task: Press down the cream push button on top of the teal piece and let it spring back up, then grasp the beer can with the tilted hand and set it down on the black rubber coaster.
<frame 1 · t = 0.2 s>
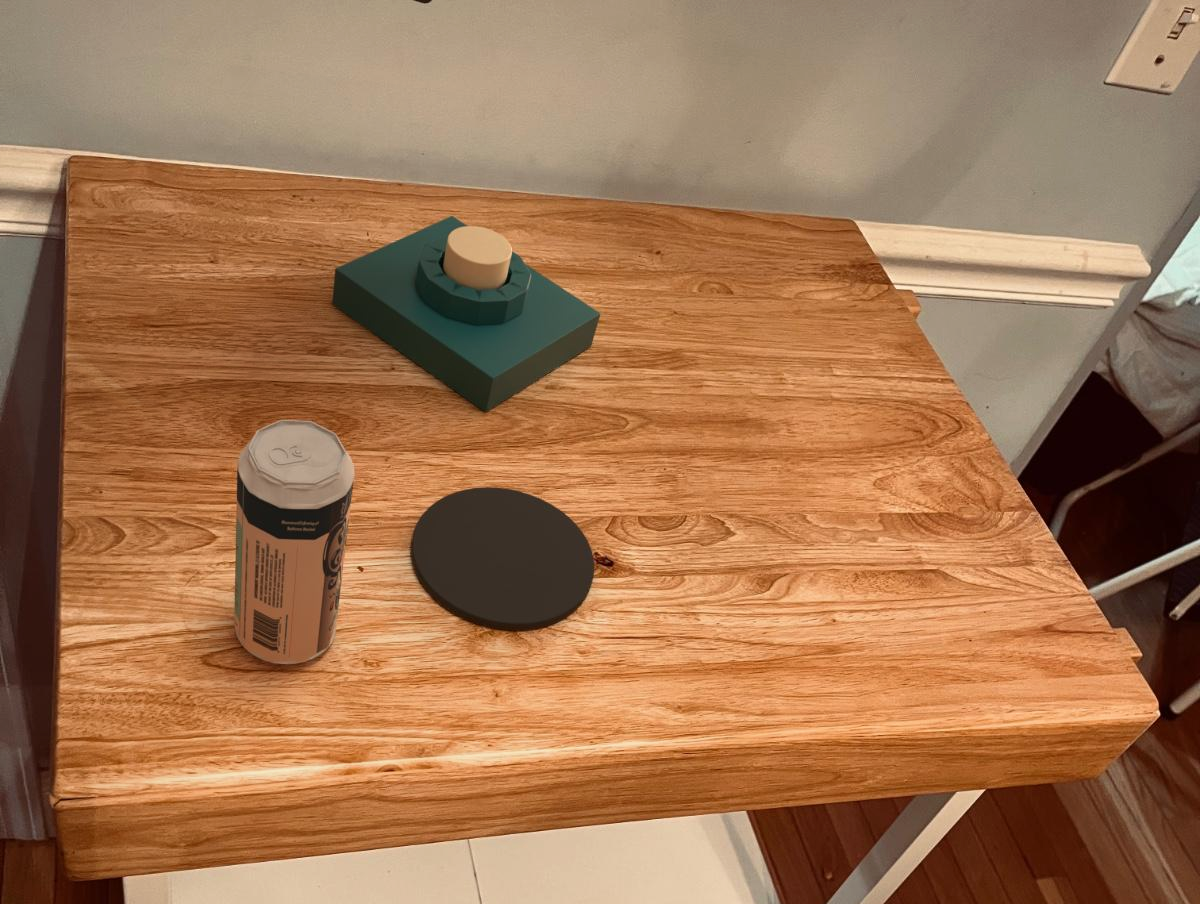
beer can: (285, 634, 58), on the kitchen cart
button: (477, 258, 74), point 5 cm above the kitchen cart, slide at 0.1 cm
teal piece: (464, 325, 77), on the kitchen cart
coaster: (503, 559, 65), on the kitchen cart
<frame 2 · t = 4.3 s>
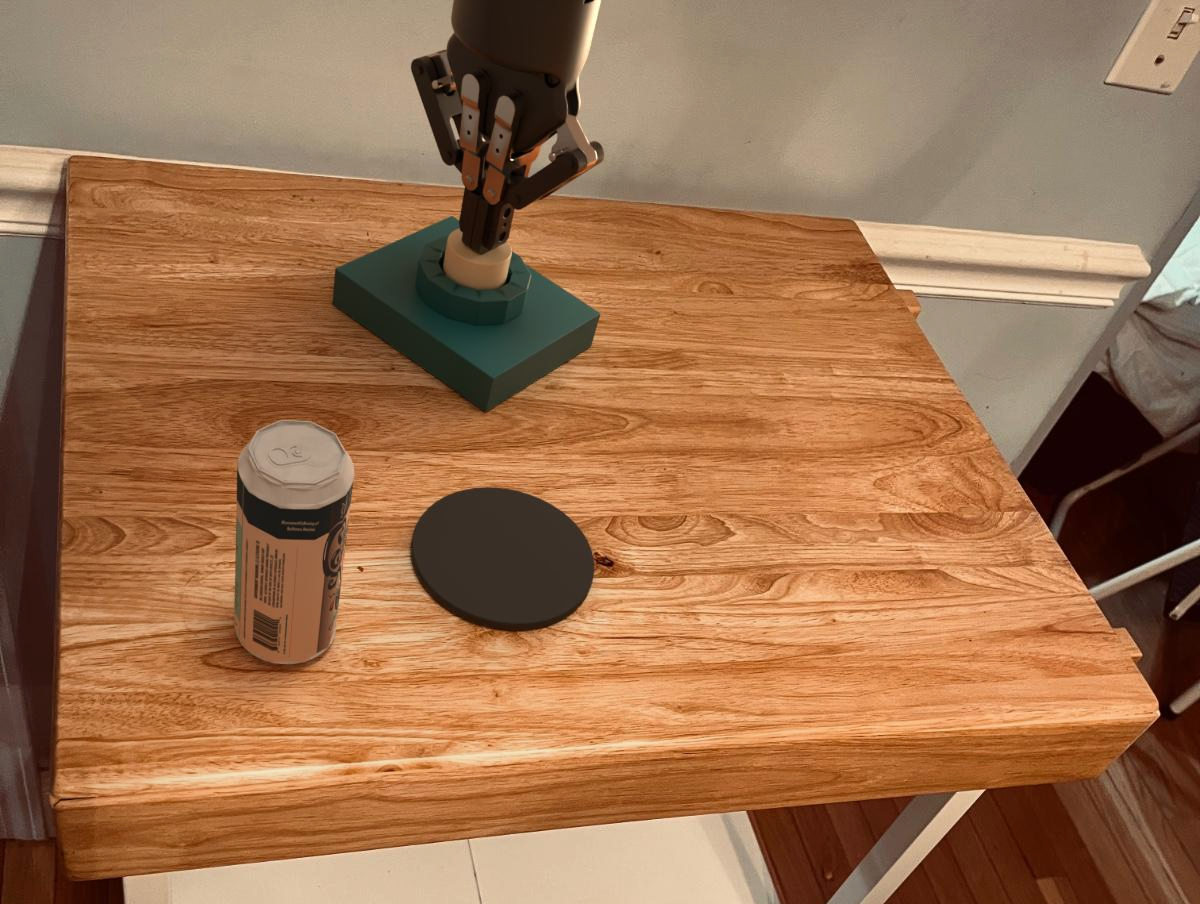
hand: (481, 245, 73), 6 cm above the kitchen cart, tool pointing down, fingers closed
button: (477, 259, 74), point 5 cm above the kitchen cart, slide at 0.0 cm, touching gripper
everything else where it was.
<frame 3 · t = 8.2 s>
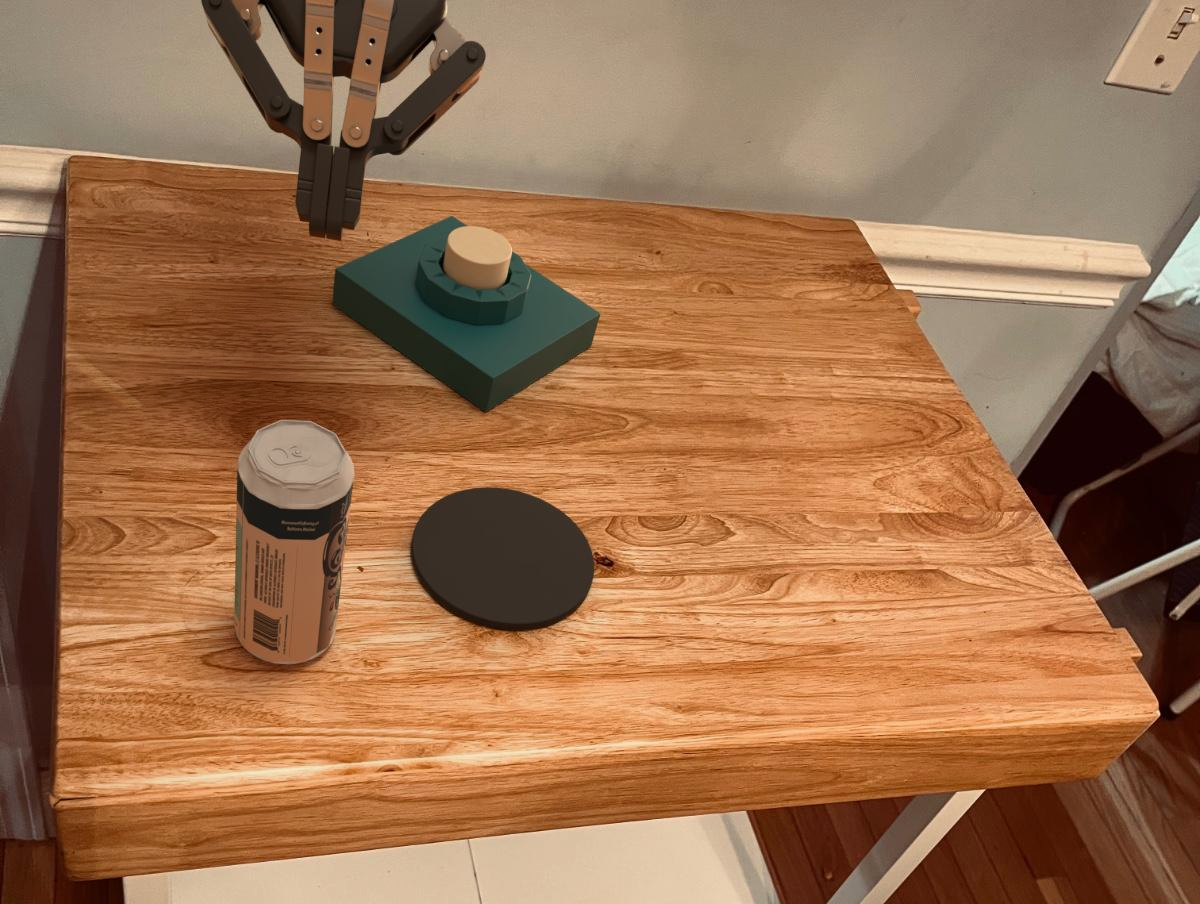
hand: (326, 235, 54), 15 cm above the kitchen cart, tool tilted 45°, fingers closed
button: (477, 258, 74), point 5 cm above the kitchen cart, slide at 0.1 cm
everything else where it was.
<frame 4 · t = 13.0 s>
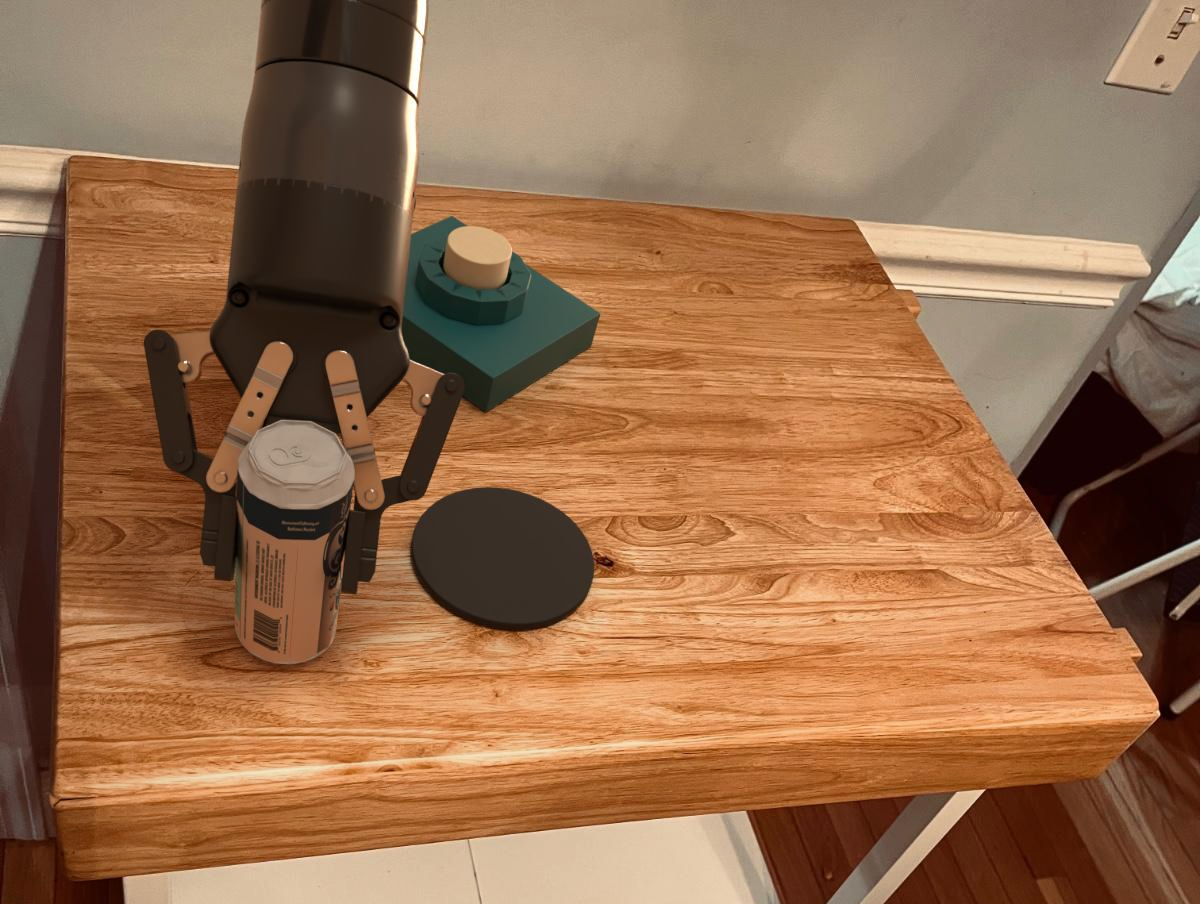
hand: (287, 584, 53), 6 cm above the kitchen cart, tool tilted 45°, fingers closed on beer can, 4 cm apart
beer can: (285, 634, 58), on the kitchen cart, touching gripper
everything else where it was.
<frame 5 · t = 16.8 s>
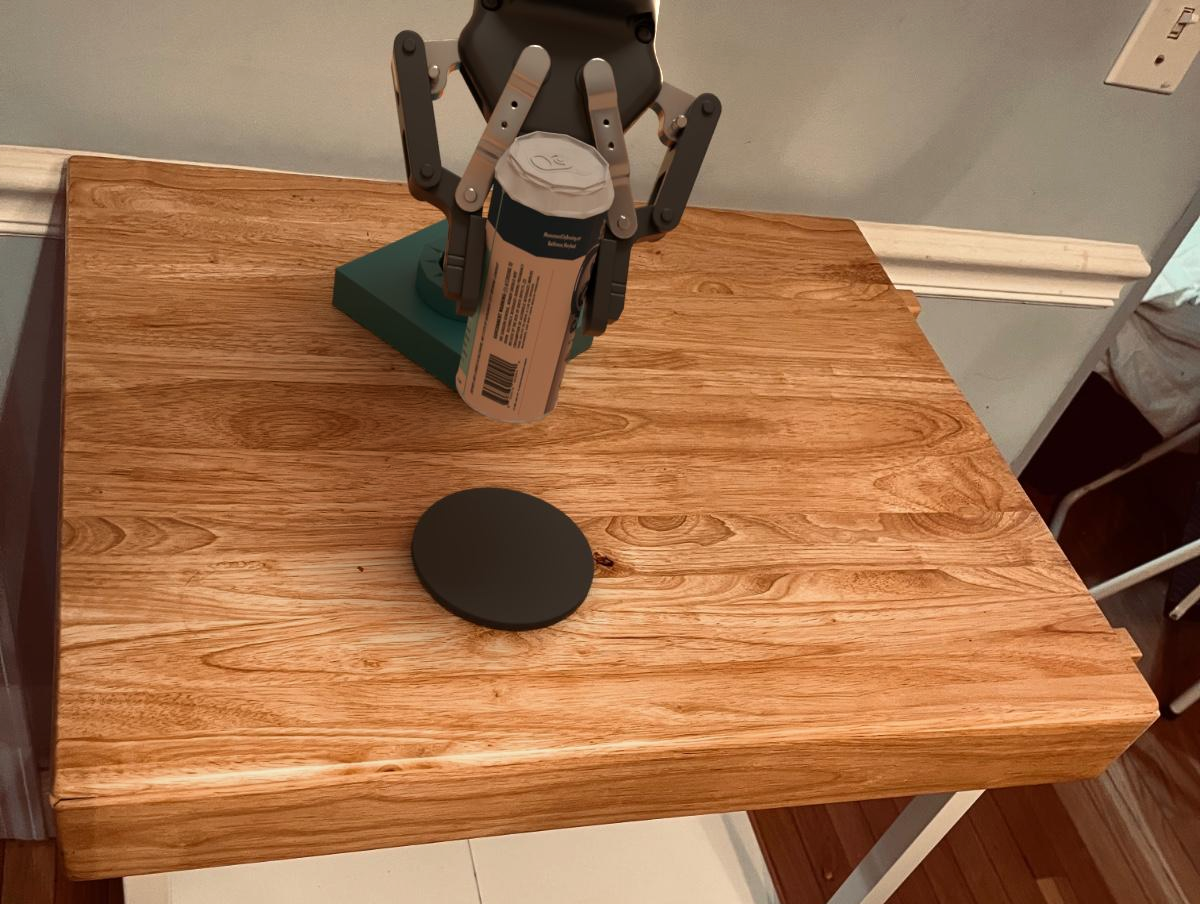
hand: (531, 321, 49), 18 cm above the kitchen cart, tool tilted 45°, fingers closed on beer can, 4 cm apart
beer can: (504, 399, 55), point 12 cm above the kitchen cart, touching gripper
everything else where it was.
when the fingers open (6 cm above the kitchen cart, at t = 20.5 s): beer can stays where it is, resting on coaster.
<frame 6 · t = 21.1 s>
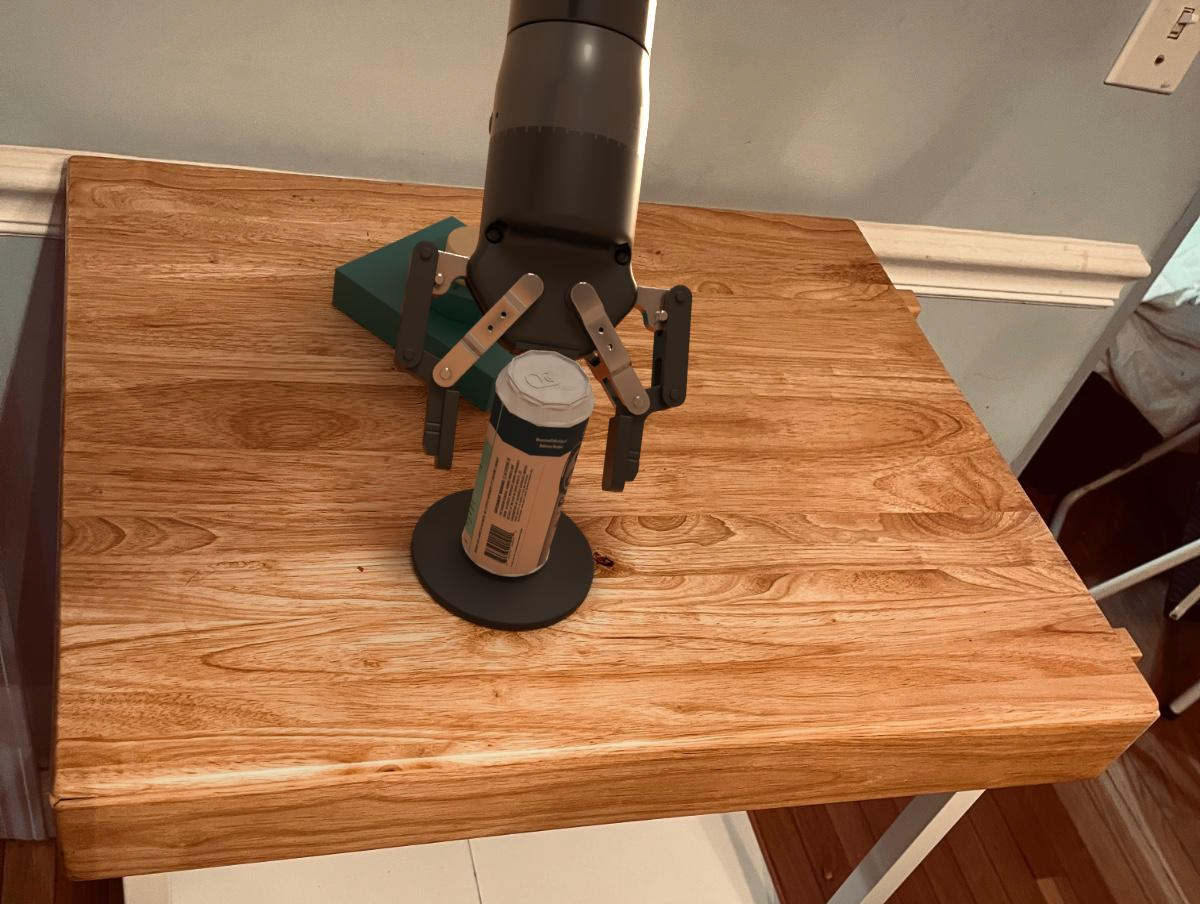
hand: (529, 480, 58), 7 cm above the kitchen cart, tool tilted 45°, fingers open, 8 cm apart
beer can: (503, 552, 64), resting on coaster
everything else where it was.
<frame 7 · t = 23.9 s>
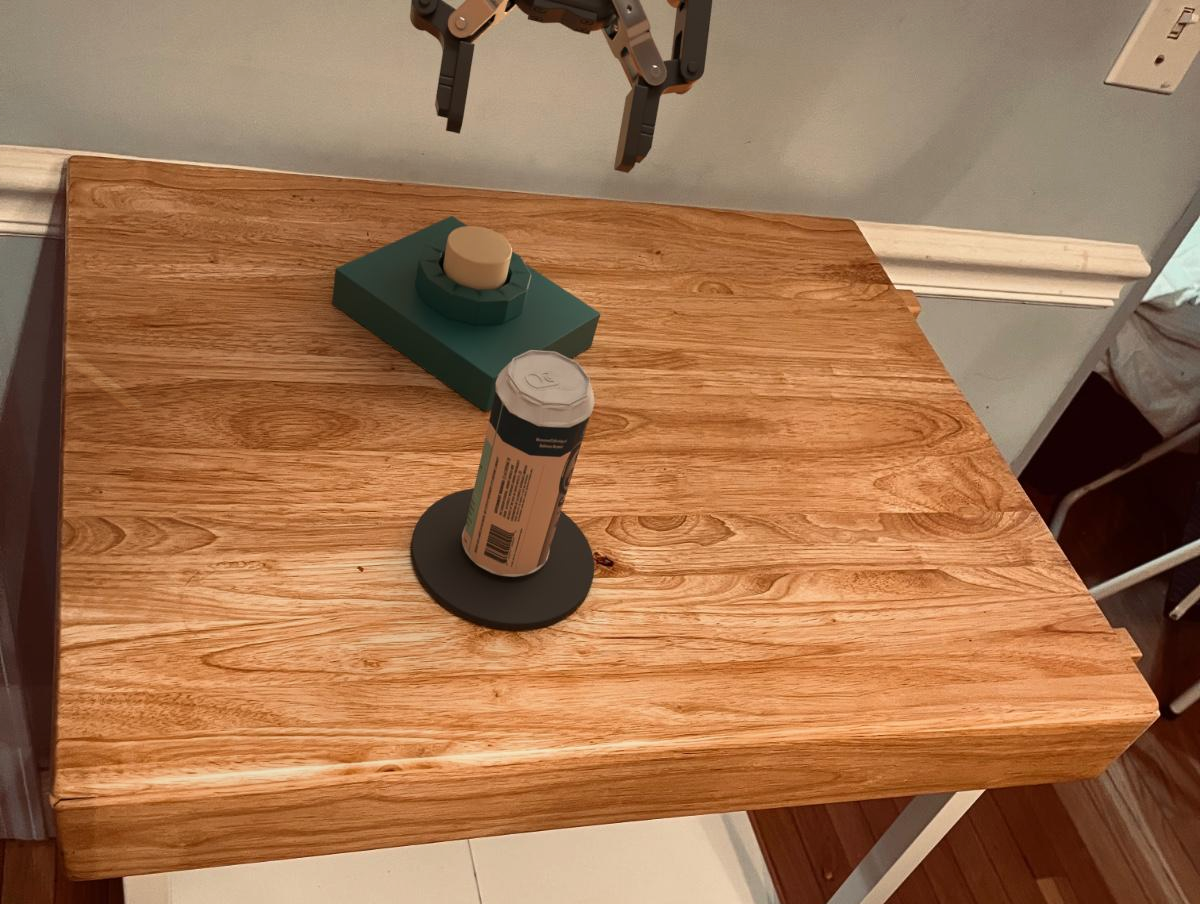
hand: (540, 149, 58), 18 cm above the kitchen cart, tool tilted 40°, fingers open, 8 cm apart
nothing on the kitchen cart moved.
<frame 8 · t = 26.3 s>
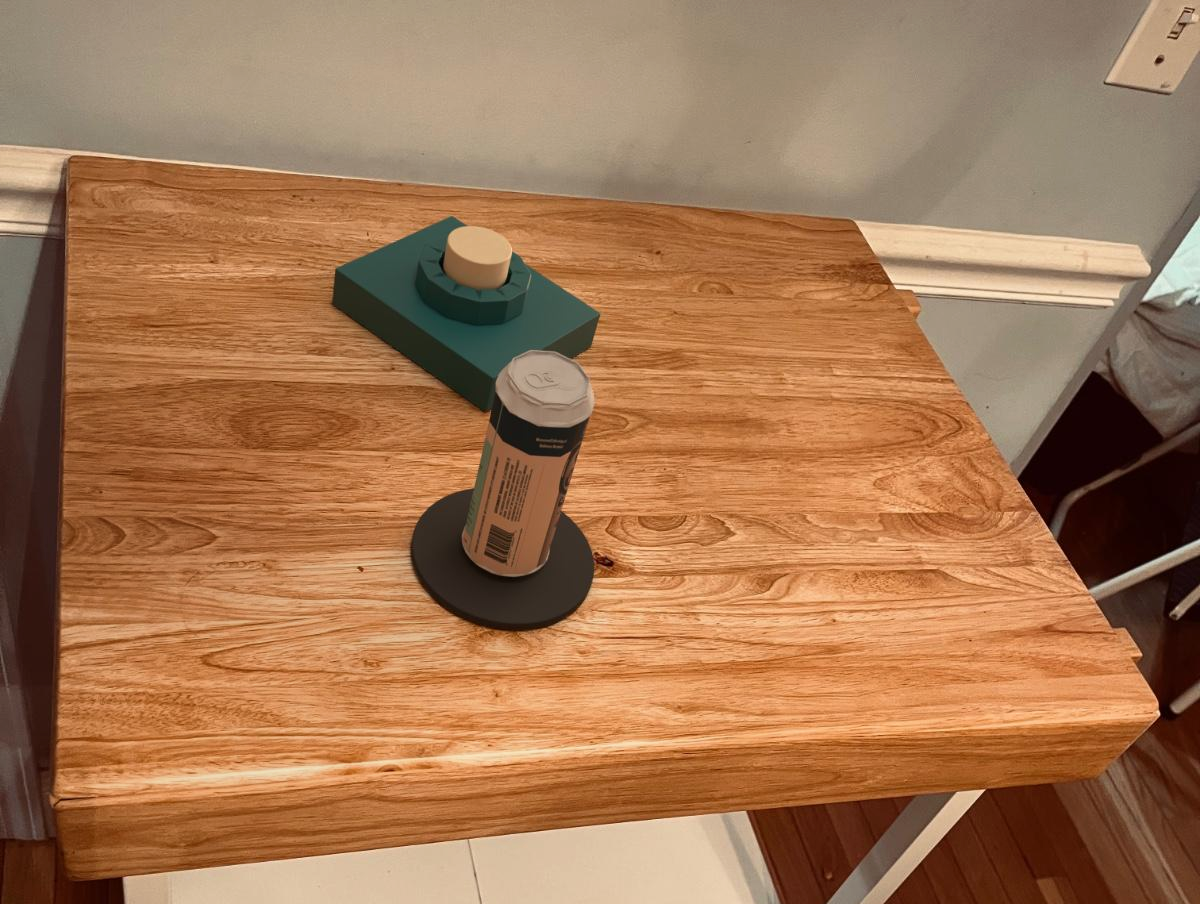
nothing on the kitchen cart moved.
at the end: button pushed in 1.1 cm at the most during the clip, back to where it started at the end; button slide at 0.1 cm; beer can 0.1 cm off-centre on the coaster, point 0.4 cm above the coaster's base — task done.
